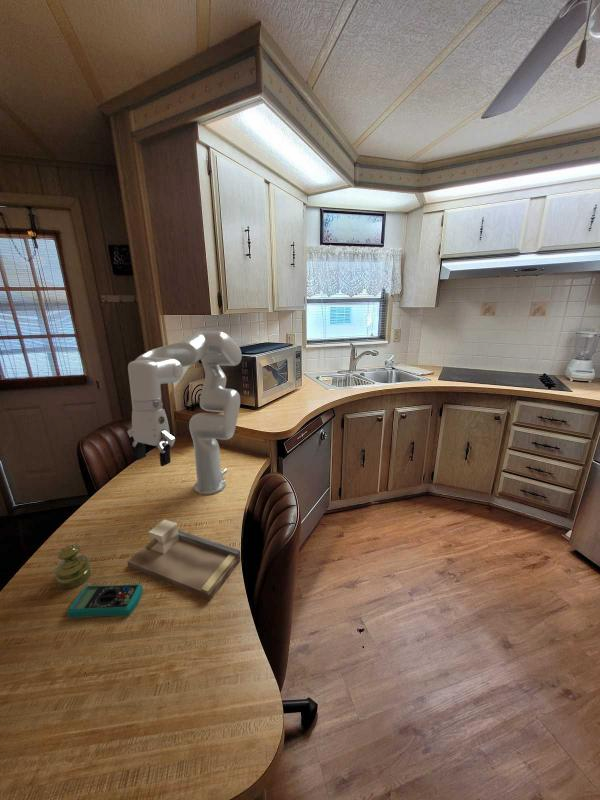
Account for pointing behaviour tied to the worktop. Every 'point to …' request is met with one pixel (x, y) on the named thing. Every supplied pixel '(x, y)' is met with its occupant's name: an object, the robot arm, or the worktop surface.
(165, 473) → the worktop surface
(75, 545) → the brass pawn finial
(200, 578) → the board
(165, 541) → the block with top hole
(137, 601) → the digital multimeter
